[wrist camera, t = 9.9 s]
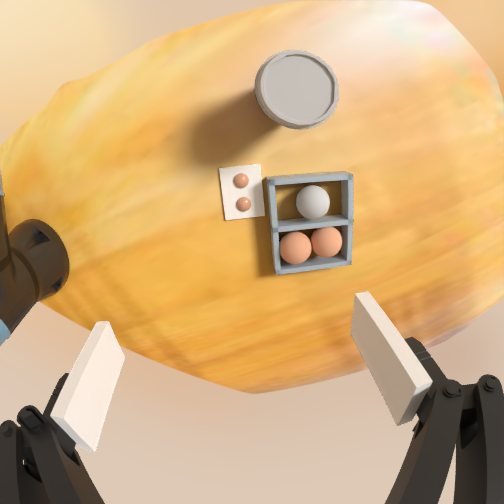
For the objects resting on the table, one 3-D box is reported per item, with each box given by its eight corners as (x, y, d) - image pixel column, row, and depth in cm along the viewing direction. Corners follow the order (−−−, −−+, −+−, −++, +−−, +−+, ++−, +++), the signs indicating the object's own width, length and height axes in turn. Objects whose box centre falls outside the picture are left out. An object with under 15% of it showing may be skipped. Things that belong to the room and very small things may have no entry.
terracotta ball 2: (304, 255, 46) (320, 263, 41) (304, 224, 44) (321, 229, 40) (330, 251, 47) (347, 258, 43) (330, 222, 46) (349, 226, 41)
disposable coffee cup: (290, 142, 40) (313, 146, 29) (235, 107, 37) (237, 97, 26) (324, 93, 37) (358, 82, 26) (271, 57, 34) (287, 31, 23)
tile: (225, 219, 44) (225, 220, 43) (219, 168, 40) (218, 168, 40) (264, 215, 44) (265, 216, 43) (260, 163, 40) (260, 163, 40)
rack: (273, 266, 47) (275, 274, 45) (266, 177, 41) (268, 180, 39) (344, 257, 48) (351, 264, 45) (345, 171, 42) (353, 174, 39)
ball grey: (293, 215, 44) (301, 225, 40) (291, 183, 42) (299, 190, 38) (324, 212, 44) (334, 221, 40) (323, 181, 42) (334, 187, 38)
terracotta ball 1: (278, 259, 47) (281, 270, 42) (276, 229, 45) (279, 237, 41) (309, 256, 47) (314, 267, 42) (307, 227, 45) (313, 234, 40)
